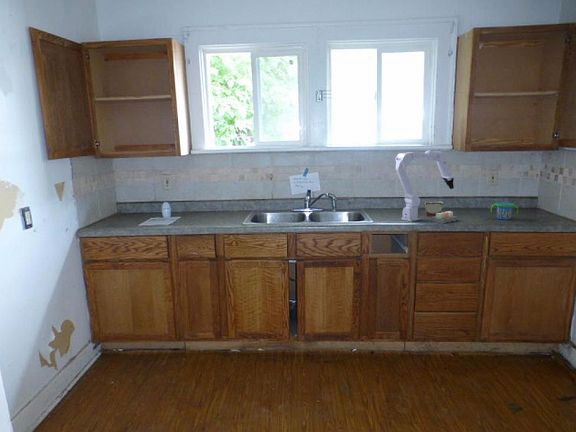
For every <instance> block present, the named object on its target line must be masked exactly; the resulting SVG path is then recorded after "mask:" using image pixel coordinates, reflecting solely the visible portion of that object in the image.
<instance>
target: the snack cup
mask: <svg viewBox="0 0 576 432" xmlns="http://www.w3.org/2000/svg"><path fill="white" fill-rule="evenodd" d="M494 206H495V208H496V210H495V211H496V219H498V220H501V221H502V220H503V221H504V220H505V221H508V220H511V216H512V214H513V210H514V208H516V209H517V210H516V213H515V214H516V216H517V215H518V214H519V208H518V206H517V205H515V203H511V202H495V203H493V204H492V205H491V207H490V213H491V214H493V212H492V211H493V207H494Z"/></svg>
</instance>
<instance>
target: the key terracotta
mask: <svg viewBox="0 0 576 432" xmlns="http://www.w3.org/2000/svg"><path fill="white" fill-rule="evenodd" d="M441 213H443V214H444V218H447V217H448V214H449V213H447V211H441Z"/></svg>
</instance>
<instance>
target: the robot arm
mask: <svg viewBox="0 0 576 432" xmlns="http://www.w3.org/2000/svg"><path fill="white" fill-rule="evenodd" d="M418 158H420V159H423V158H424V159H425V160H426V161H436V164H437V168H438V170H439V172H440V176H441V179H443V181H444V183H445V184H446V185H447V186H448V188H449V190H453V189H454V180H455V179H454V177H452V175H453V174H454V172H453V171H451V170H450V167H449V163H448V161H447V154H446V152H444V151H438V150H432V149H428V150H426V151H425V152H416V151H415V152H414V151H407V152H399V153H398V154H397V155H396V157H395V159H394V160H395V171H396V174H397V176H398V179H399V181H400V184H401V187H402V189H403V191H404V194H403V196H404V203H405V205H406V206H405V207H403V209H402V217H401V220H404V221H408V222H414V221H419V220H420V221H421V218H418V213H419V211H418V210H419V206H420V205H421V199H420V197H419V196H418V194H417V193H416V192H415V191H414V189H413V186H412V183H411V181H410V178H409V175H408V172H407V171H406V169H407V167H408V166H409V165H410V164H411V163H412V162H413V161H414V160H415V159H418Z"/></svg>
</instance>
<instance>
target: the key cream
mask: <svg viewBox="0 0 576 432" xmlns="http://www.w3.org/2000/svg"><path fill="white" fill-rule="evenodd" d="M446 212H447V213H449V214H448V217H452V216H454V212H453V211H451V210H449V211H446Z"/></svg>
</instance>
